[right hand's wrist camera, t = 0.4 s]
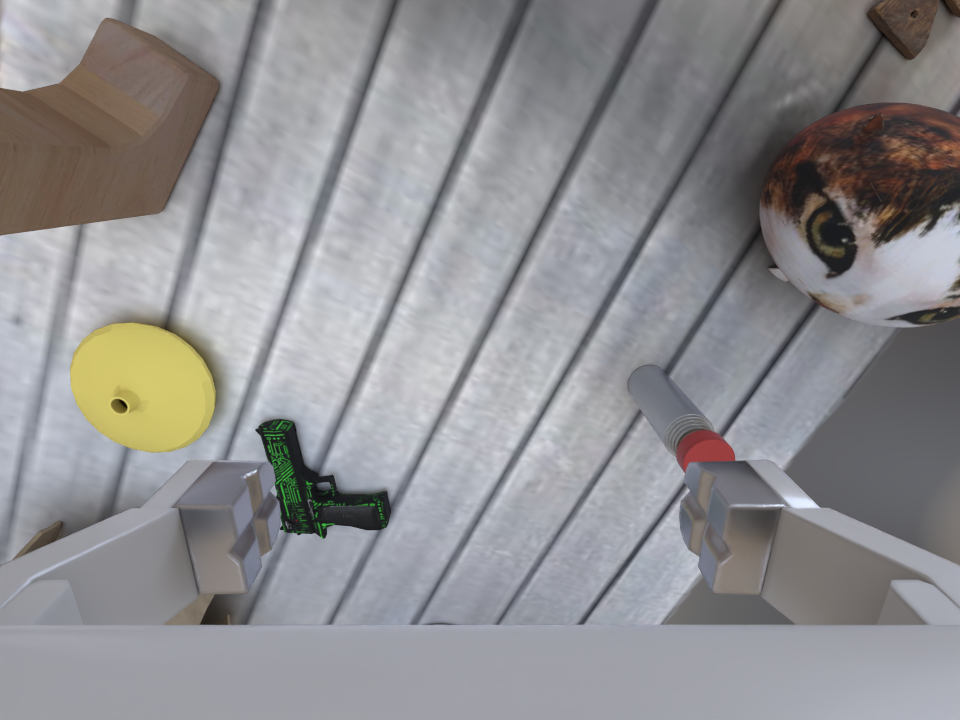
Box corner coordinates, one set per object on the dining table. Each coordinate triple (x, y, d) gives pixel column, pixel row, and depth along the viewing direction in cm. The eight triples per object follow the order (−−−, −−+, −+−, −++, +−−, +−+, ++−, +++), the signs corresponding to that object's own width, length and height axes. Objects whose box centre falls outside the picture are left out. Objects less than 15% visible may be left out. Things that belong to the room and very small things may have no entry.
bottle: (647, 357, 60) (709, 426, 44) (675, 380, 61) (745, 456, 45) (619, 386, 62) (669, 463, 45) (647, 408, 63) (705, 492, 46)
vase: (69, 396, 62) (19, 423, 55) (118, 288, 57) (71, 303, 51) (193, 462, 65) (160, 495, 58) (249, 364, 60) (221, 388, 54)
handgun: (389, 543, 66) (269, 546, 65) (392, 528, 69) (277, 531, 68) (380, 427, 61) (249, 430, 60) (384, 416, 63) (258, 419, 63)
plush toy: (672, 282, 52) (875, 159, 34) (716, 160, 59) (905, 3, 40) (840, 392, 55) (1106, 336, 37) (864, 265, 62) (1099, 164, 44)
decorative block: (224, 83, 51) (-98, -25, 22) (163, 215, 55) (-173, 265, 27) (151, 32, 49) (-293, -152, 21) (93, 172, 53) (-340, 176, 25)
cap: (702, 420, 46) (711, 430, 44) (736, 448, 47) (745, 459, 45) (665, 454, 47) (672, 465, 45) (699, 481, 48) (707, 493, 46)
